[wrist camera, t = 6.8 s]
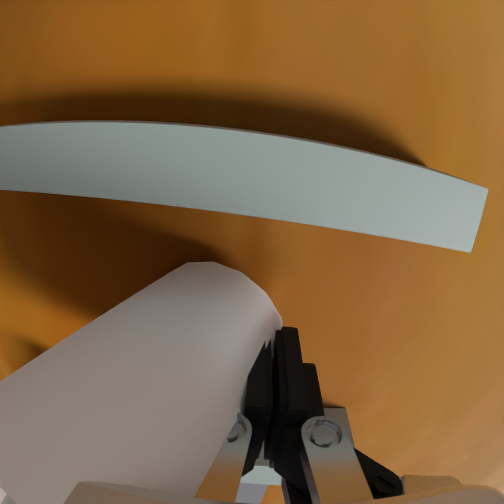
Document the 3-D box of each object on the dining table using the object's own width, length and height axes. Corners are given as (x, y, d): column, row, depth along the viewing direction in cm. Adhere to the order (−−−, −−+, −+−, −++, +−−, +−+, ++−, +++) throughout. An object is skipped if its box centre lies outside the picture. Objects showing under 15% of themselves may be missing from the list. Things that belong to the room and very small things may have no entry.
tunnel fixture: (428, 167, 11) (508, 197, 6) (303, 483, 19) (307, 538, 15) (-92, 140, 10) (-143, 156, 6) (-28, 395, 19) (-53, 429, 14)
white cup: (315, 384, 12) (217, 620, 3) (186, 389, 15) (63, 538, 6) (262, 229, 11) (-14, 474, 2) (126, 268, 14) (-65, 395, 5)
